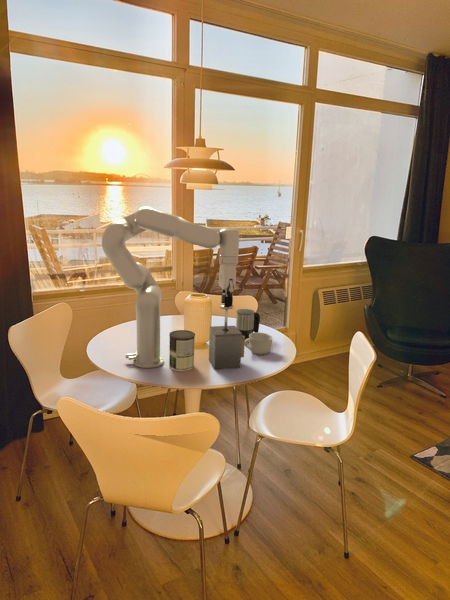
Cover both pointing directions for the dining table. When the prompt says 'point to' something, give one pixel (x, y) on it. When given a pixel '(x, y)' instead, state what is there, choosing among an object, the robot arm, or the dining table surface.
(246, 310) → the milk frother
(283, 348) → the dining table surface
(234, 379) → the dining table surface
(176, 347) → the coffee can
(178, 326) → the dining table surface
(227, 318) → the plunger
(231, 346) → the gray box
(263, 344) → the teacup
